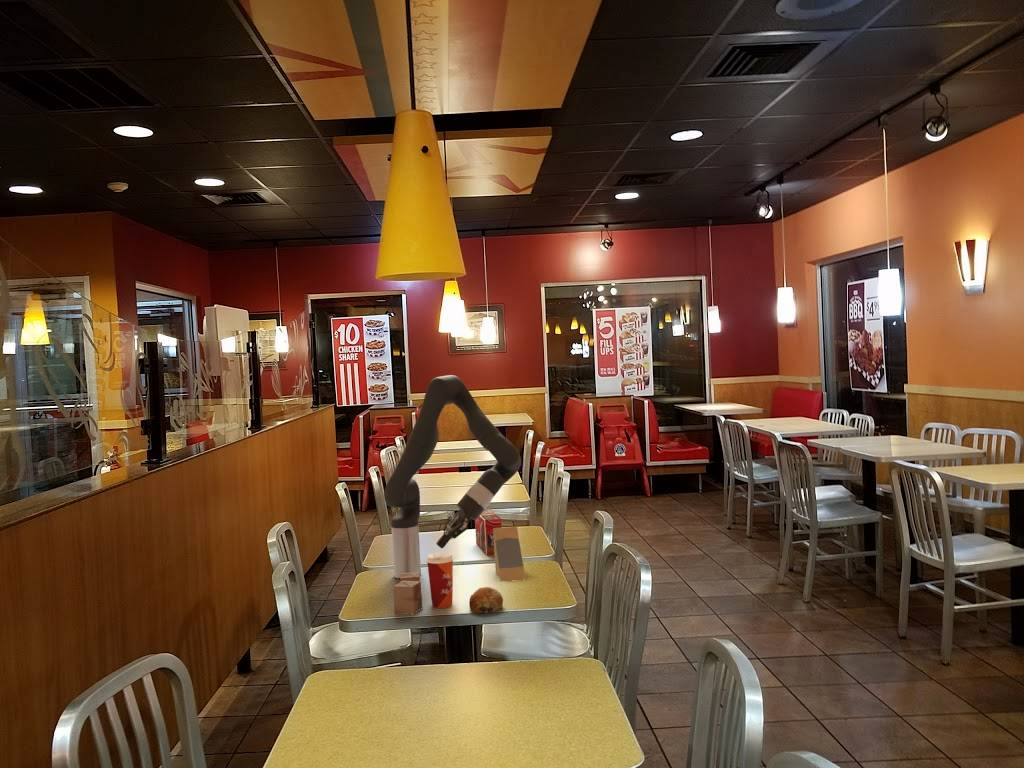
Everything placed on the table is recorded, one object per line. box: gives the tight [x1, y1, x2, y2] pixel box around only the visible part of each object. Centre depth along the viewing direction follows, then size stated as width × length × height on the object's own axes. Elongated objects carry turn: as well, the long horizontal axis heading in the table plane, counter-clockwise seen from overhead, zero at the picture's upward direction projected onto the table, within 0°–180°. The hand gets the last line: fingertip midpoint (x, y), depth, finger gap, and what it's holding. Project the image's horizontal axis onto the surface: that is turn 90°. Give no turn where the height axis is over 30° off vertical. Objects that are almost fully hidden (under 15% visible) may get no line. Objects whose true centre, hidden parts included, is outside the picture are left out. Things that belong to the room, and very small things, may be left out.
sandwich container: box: [493, 526, 527, 582], centre depth 276 cm, size 9×15×15 cm, turn 9°
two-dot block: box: [399, 572, 421, 583], centre depth 252 cm, size 6×6×8 cm
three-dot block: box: [393, 580, 423, 614], centre depth 242 cm, size 6×6×8 cm
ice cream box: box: [474, 509, 502, 556], centre depth 316 cm, size 20×6×13 cm, turn 13°
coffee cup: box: [426, 552, 455, 609], centre depth 245 cm, size 8×8×15 cm
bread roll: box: [468, 586, 504, 614], centre depth 240 cm, size 10×10×8 cm
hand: (439, 546), depth 245 cm, fingers closed
